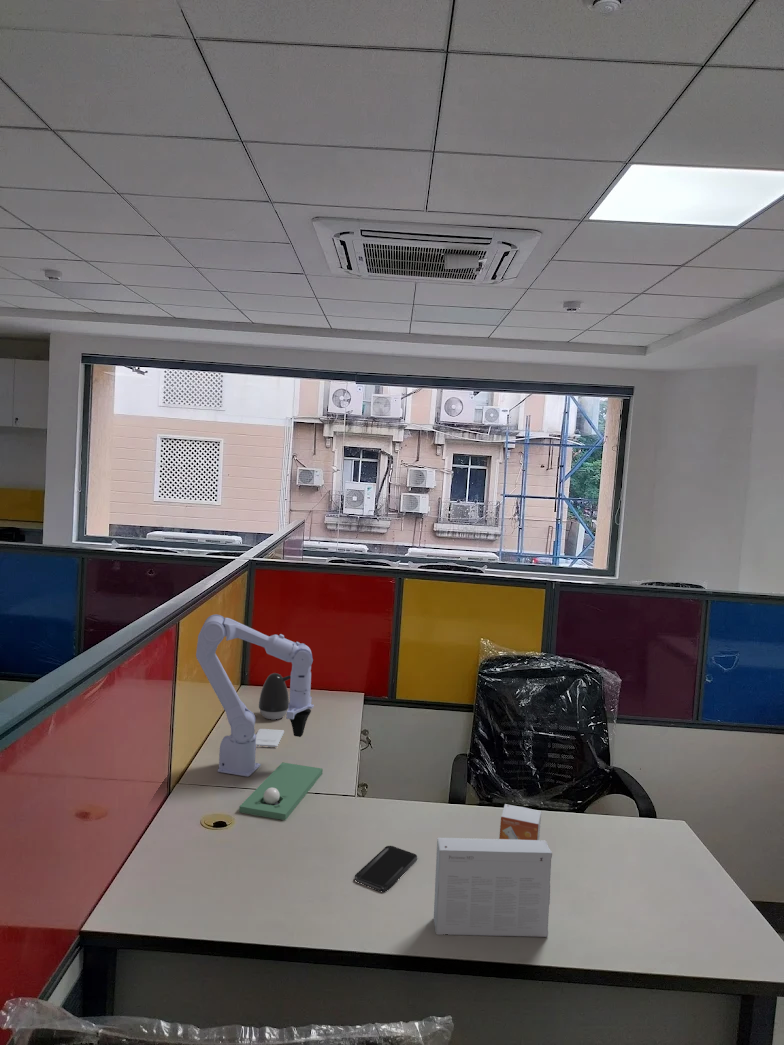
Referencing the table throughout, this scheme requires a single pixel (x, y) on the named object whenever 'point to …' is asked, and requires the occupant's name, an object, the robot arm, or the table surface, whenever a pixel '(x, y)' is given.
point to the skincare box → (492, 887)
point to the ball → (271, 796)
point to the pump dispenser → (274, 697)
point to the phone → (386, 868)
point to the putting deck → (282, 791)
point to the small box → (520, 823)
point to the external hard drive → (268, 737)
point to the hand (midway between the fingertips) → (298, 735)
